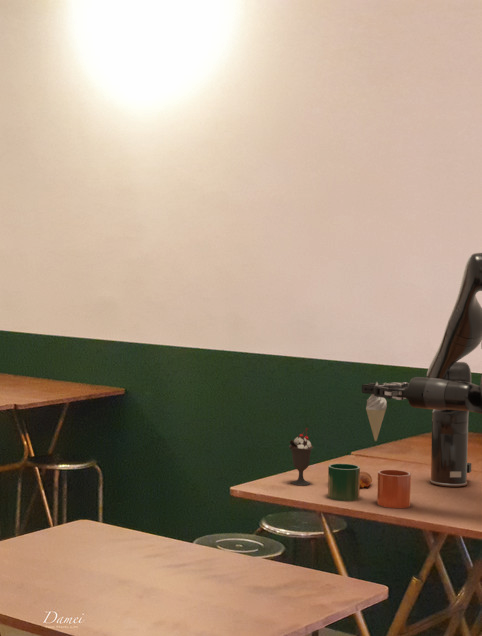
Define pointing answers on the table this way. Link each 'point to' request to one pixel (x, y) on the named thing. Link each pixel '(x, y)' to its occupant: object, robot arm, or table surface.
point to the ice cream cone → (376, 413)
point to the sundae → (301, 456)
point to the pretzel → (365, 479)
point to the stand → (343, 482)
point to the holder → (394, 488)
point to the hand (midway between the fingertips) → (365, 387)
